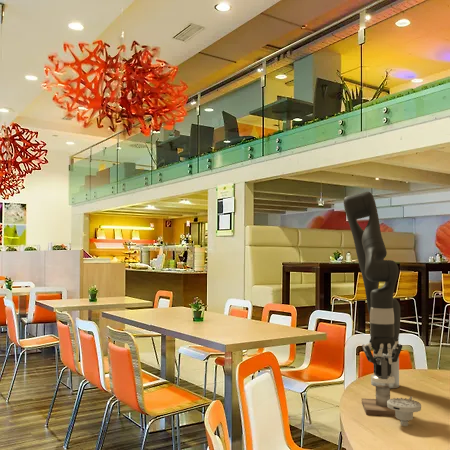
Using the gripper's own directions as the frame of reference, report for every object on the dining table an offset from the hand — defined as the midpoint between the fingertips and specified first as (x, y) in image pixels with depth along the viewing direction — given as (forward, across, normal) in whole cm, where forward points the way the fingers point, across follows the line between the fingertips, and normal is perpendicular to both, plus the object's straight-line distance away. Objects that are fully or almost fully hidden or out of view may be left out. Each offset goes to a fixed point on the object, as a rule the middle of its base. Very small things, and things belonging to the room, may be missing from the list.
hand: (382, 375), depth 163 cm
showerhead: (+11, -2, -15) cm, 18 cm away
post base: (+11, 0, 0) cm, 11 cm away
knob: (+3, 0, 0) cm, 3 cm away
